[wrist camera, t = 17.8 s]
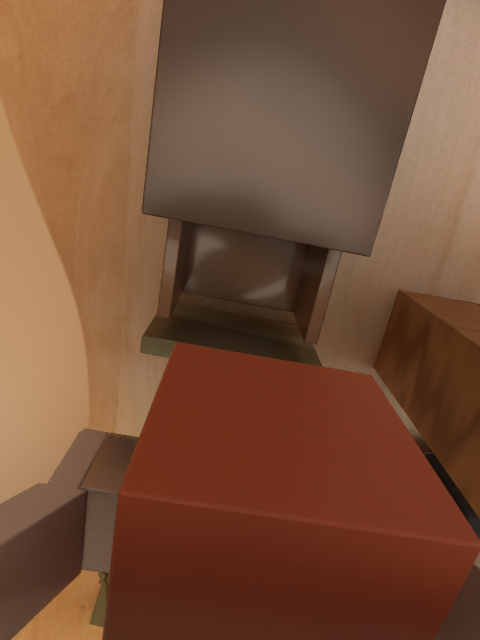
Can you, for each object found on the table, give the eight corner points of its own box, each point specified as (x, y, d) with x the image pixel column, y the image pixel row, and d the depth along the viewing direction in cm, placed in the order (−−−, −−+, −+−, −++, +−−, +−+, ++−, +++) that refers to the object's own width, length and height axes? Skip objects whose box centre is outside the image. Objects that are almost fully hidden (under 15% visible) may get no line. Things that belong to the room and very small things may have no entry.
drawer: (288, 390, 34) (300, 445, 27) (154, 368, 33) (132, 417, 27) (347, 164, 28) (381, 159, 21) (185, 131, 27) (167, 115, 21)
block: (322, 523, 11) (376, 753, 6) (152, 499, 10) (92, 723, 6) (372, 374, 9) (485, 545, 5) (175, 340, 9) (116, 492, 5)
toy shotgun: (110, 620, 45) (107, 628, 44) (92, 617, 45) (89, 626, 44) (118, 537, 41) (116, 544, 40) (98, 534, 41) (95, 542, 40)
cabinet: (334, 234, 31) (370, 257, 22) (169, 203, 30) (141, 213, 21) (393, 8, 26) (469, -76, 17) (199, -37, 25) (178, -147, 17)
